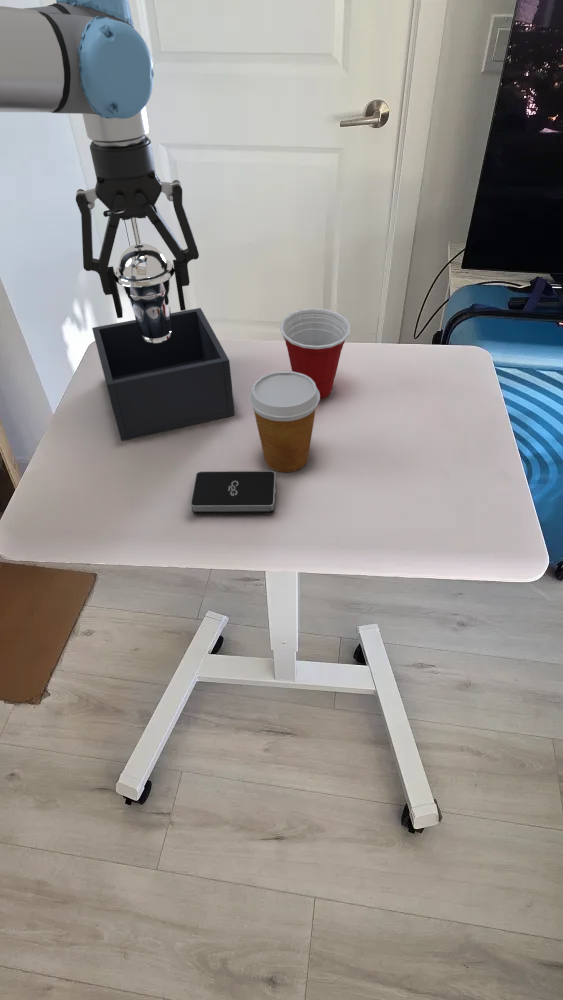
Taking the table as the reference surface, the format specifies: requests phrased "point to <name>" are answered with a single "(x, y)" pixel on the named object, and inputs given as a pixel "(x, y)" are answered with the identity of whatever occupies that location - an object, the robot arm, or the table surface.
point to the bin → (165, 375)
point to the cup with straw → (146, 285)
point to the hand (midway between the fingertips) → (151, 309)
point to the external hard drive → (234, 492)
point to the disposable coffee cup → (285, 417)
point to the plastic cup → (315, 344)
